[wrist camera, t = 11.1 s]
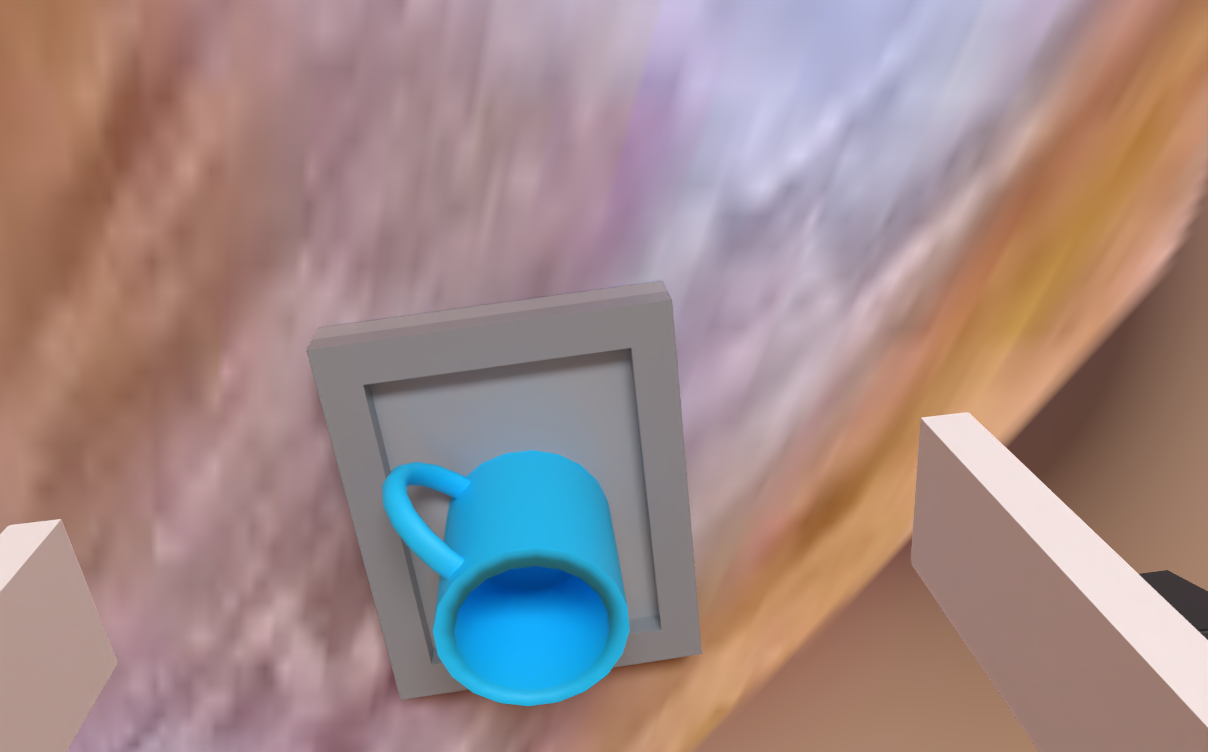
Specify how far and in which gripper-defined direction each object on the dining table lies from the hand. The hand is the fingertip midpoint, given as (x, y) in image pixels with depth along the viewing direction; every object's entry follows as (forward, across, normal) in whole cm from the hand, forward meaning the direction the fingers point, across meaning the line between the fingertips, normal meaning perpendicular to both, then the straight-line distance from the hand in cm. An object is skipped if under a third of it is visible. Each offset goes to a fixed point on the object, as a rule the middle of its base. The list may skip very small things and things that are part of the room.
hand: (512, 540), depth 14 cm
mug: (+26, -3, -15) cm, 31 cm away
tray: (+28, -2, -16) cm, 32 cm away
